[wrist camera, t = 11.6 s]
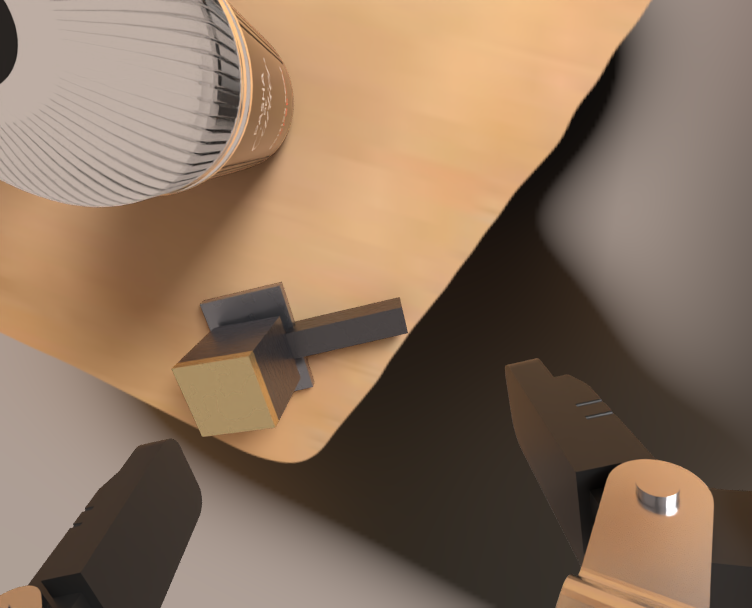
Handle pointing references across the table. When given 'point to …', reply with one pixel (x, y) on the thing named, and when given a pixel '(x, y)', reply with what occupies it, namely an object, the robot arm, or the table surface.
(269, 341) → the khaki matte cube
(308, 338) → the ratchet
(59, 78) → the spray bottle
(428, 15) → the table surface
